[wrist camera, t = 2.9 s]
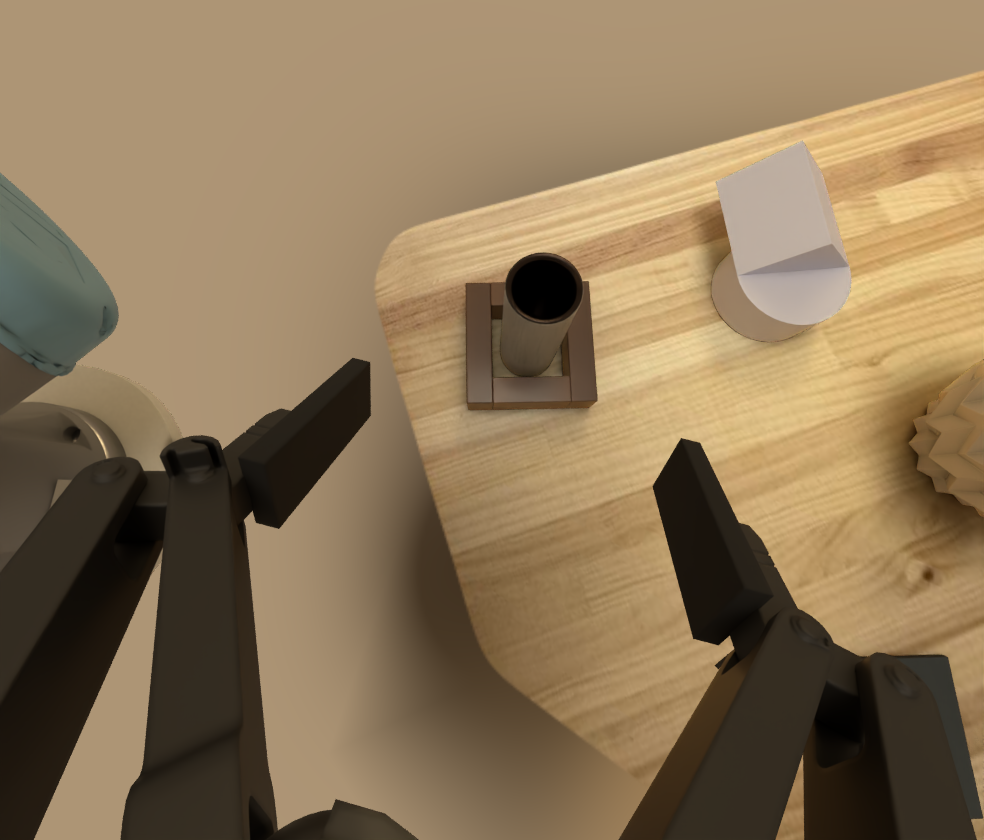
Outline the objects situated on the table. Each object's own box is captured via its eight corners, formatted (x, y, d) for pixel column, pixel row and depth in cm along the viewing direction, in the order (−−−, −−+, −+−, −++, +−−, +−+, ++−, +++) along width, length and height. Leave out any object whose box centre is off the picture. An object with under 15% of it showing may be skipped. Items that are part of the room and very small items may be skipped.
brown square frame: (468, 410, 31) (466, 403, 28) (467, 298, 32) (465, 282, 30) (589, 408, 31) (597, 401, 28) (581, 296, 33) (588, 280, 30)
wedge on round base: (693, 211, 34) (722, 346, 32) (742, 144, 28) (784, 308, 25) (790, 204, 34) (826, 337, 32) (861, 136, 28) (913, 297, 25)
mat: (832, 818, 26) (837, 823, 25) (807, 658, 28) (811, 660, 27) (976, 813, 26) (983, 818, 25) (941, 654, 28) (948, 656, 27)
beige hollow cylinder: (493, 333, 32) (496, 261, 22) (544, 321, 32) (571, 243, 22) (507, 383, 31) (517, 332, 21) (560, 370, 31) (594, 313, 21)
